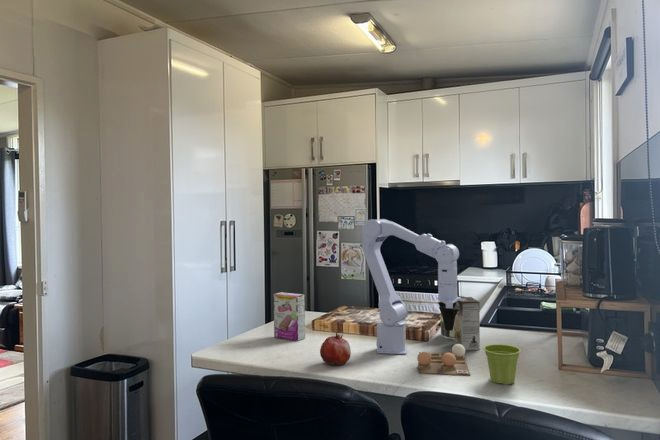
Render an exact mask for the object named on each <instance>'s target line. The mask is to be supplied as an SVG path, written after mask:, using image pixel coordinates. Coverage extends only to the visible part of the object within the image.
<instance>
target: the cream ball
mask: <svg viewBox="0 0 660 440" xmlns="http://www.w3.org/2000/svg"><path fill="white" fill-rule="evenodd" d="M451 353H452V354H453V355H454V356H456V357H462V356H463V355H464V356H465V353H466V350H465V348H464V346H463V345H461V344H455V343H454V345H453V346H452V347H451Z"/></svg>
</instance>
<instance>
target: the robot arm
mask: <svg viewBox="0 0 660 440" xmlns="http://www.w3.org/2000/svg"><path fill="white" fill-rule="evenodd" d="M360 230H361V233H362V241H361V242H362V245H361V249H362V251H363V254H364V257H365V260H366V263H367V266H368V269H369V271H370V274H371V277H372V279H373V282H374V285H375V288H376V290H377V293H378V296H379V301H378V304H377V305H378V308H379V319H380V320H381V322H382V323H377V325H376V342H375V343H376V353H377V354H389V355H390V354H391V355H407V352H408V351H407V350H408V347H407V346H406V321H405V320H406V319H407V318H408V316H409V309H408V307H407V305H406V304H405V303H404V302H403V300H402V297H401V296H400V295H399V294H398V293H396V291H395V288H394V286H393V282H392V280H391V277H390V275H389V274H390V273H389V271H388V269H387V266H386V264H385V263H386V262H385V261H384V258H383V256H382V253H381V249H380V248H381V246H382V245H383V242H384V241H385V240H386V239H387V238H388V237H390V236H394V237H396V238H399V239H400V240H403V241H406V242H407V243H408V242H409V243H411V244H413V245H414V246H415V248H416V250H417V251H419V252H420V253H422V254H425V255H427V256H429V257H431V258H433V259H435V260H436V261H437V263H438V264H437V280H438V281H437V282H438V283H437V286H438V287H437V289H438V291H437V292H438V297H437V304H438V309H439V311H440V314H441V313H442V316H443V322H444V326H445V330H449V331H452V330H453V327H454V321H455V317H456V314H457V312H458V310H459V309H458V308H455V305H456V302H457V301H461V297H457V296H458V263H457V262H458V261H457V260H458V259H459V258H460V250H459V248H458V247H457V246H456V245H455V244H453V243H447V244H446V241H445V240H440V239H437V238H435V237H433V234H431V233H427V234H426V233H421V234H420V235H419V234H417V233H415V231H411V229H407V228H406V227H404V226H403V225H400V224H398V223H396V222H394V221H392V220H388V219H386V218H380V219H375V218H374V219H373V218H371V219H368V220H366V221H365V222H364V224H363V226H362V229H360ZM440 301H441V302H440Z"/></svg>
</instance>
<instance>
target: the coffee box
mask: <svg viewBox="0 0 660 440" xmlns="http://www.w3.org/2000/svg"><path fill="white" fill-rule="evenodd" d="M455 308H458V309H459V310H458V312H457V314H456V317H455V321H454V339H455V340H454V345H455V344H461V345H463V346H464V348H465V351H473V350H475V351H476V350H477V351H478V350H480V349H481V345H480V343H481V342H480V340H481V339H480V331H481V329H480V327H481V326H480V321H481V320H480V314H481V313H480V312H481V311H480V301H478V300H477V299H475V298H474V297H472V296H467V297H466V296H463V297H461V301H457V302H456V305H455Z"/></svg>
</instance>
